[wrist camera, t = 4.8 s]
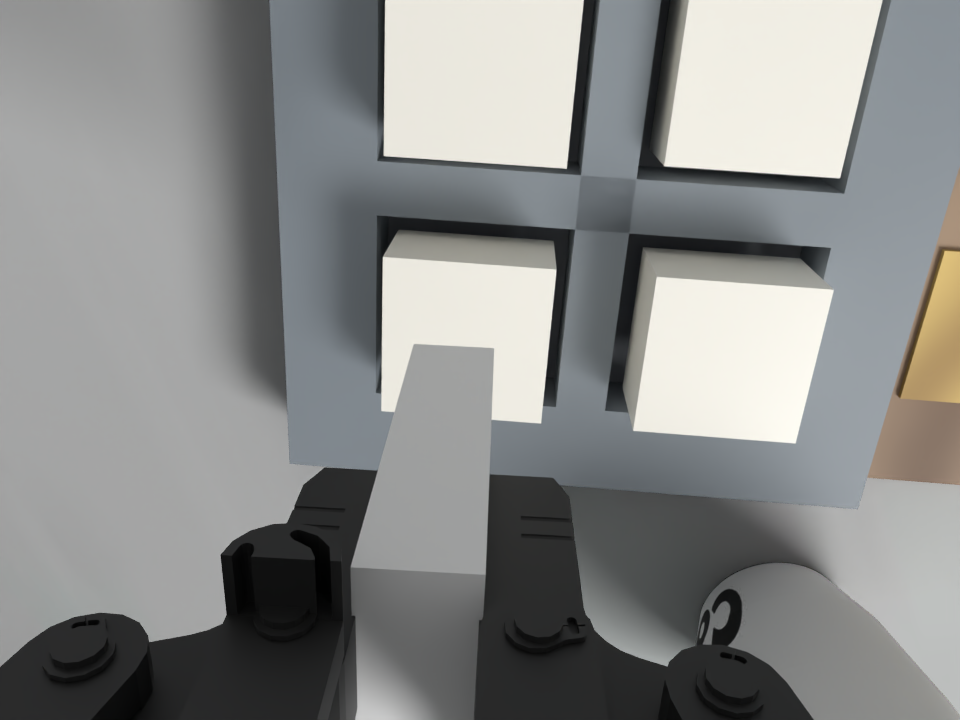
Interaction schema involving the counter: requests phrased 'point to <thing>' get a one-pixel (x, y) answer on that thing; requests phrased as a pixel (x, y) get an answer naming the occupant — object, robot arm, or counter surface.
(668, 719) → the robot arm
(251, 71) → the counter surface
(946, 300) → the card
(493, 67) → the button
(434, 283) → the button
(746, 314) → the button
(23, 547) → the counter surface
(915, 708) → the cup
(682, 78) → the button
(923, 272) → the button board
